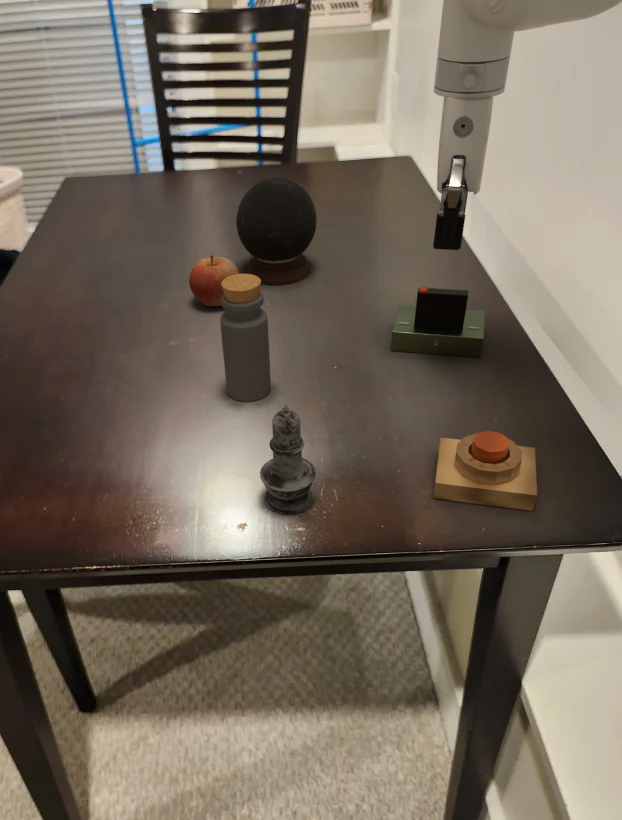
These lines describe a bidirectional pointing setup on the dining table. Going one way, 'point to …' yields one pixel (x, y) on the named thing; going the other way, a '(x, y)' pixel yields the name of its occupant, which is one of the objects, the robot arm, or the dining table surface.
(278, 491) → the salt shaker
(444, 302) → the black block
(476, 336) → the clamp panel
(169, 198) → the dining table surface
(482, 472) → the button block
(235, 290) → the bottle
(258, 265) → the black ball on stand
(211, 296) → the apple
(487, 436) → the button
